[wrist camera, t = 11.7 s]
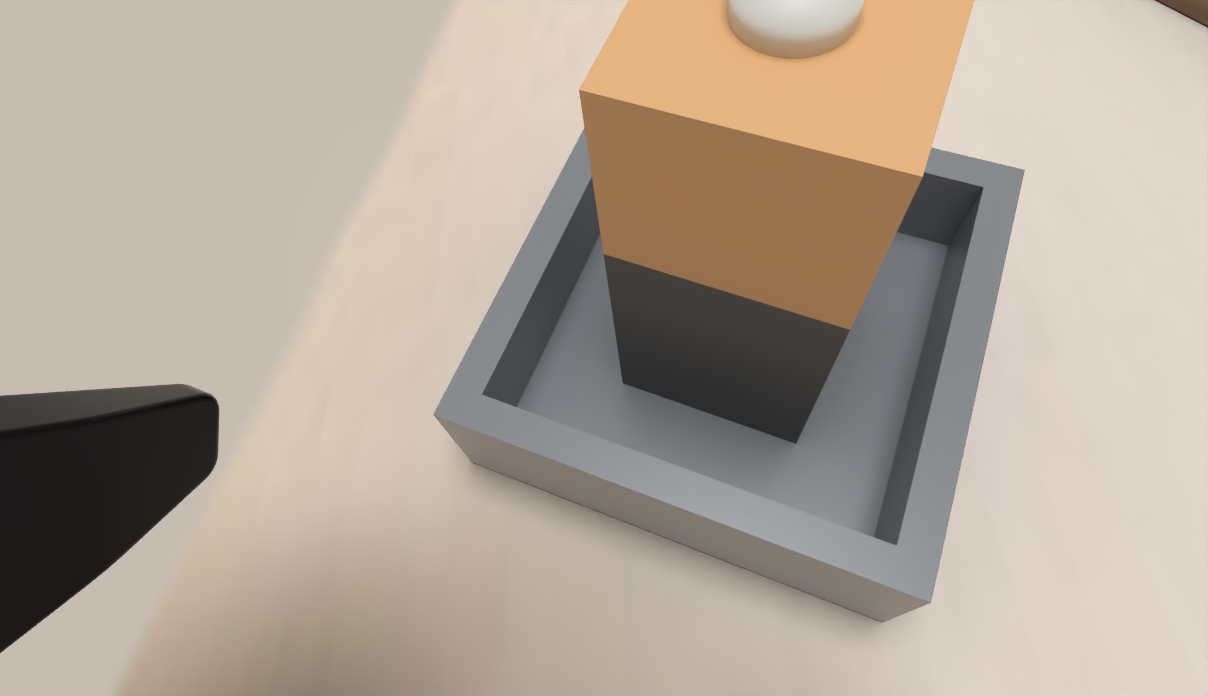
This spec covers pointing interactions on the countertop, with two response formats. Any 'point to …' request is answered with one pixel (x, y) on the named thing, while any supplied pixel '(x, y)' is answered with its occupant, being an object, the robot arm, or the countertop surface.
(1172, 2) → the wooden tray
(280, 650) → the countertop surface
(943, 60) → the copper cell
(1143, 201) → the countertop surface
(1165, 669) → the countertop surface
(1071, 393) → the countertop surface
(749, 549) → the bin
